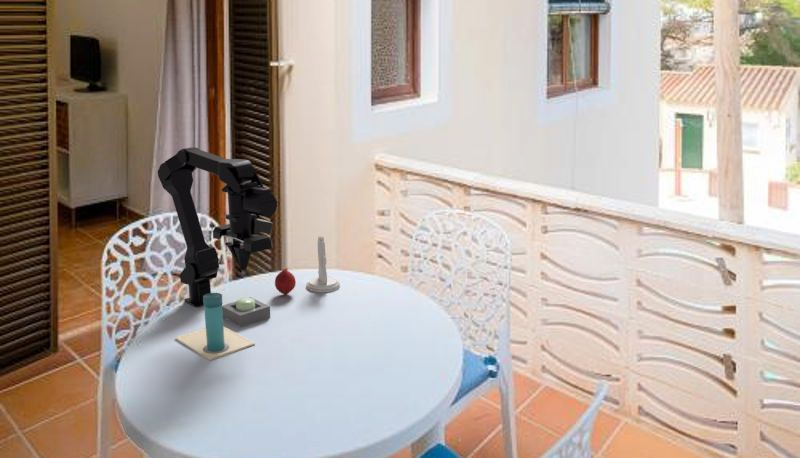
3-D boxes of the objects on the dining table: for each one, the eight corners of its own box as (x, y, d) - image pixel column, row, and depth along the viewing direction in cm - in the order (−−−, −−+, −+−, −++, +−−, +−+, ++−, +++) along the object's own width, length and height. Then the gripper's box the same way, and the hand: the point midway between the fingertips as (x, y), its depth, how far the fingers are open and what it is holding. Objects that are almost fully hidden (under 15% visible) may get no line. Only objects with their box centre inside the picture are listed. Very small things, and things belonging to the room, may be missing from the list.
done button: (232, 313, 184) (232, 301, 183) (248, 308, 187) (248, 296, 186) (243, 318, 181) (242, 306, 180) (258, 313, 184) (258, 301, 183)
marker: (208, 344, 167) (205, 292, 164) (226, 343, 167) (223, 292, 164) (205, 352, 163) (201, 299, 160) (223, 351, 163) (220, 299, 160)
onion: (291, 299, 197) (290, 272, 195) (272, 297, 198) (271, 270, 196) (298, 291, 202) (297, 265, 200) (279, 290, 203) (278, 264, 201)
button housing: (221, 316, 184) (221, 305, 184) (251, 307, 190) (250, 297, 190) (240, 326, 178) (240, 315, 177) (270, 317, 184) (270, 306, 184)
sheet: (175, 339, 171) (175, 337, 171) (219, 325, 179) (219, 323, 179) (209, 360, 160) (209, 358, 160) (254, 344, 168) (254, 343, 168)
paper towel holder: (309, 293, 201) (308, 243, 197) (303, 282, 210) (302, 234, 206) (343, 290, 204) (342, 240, 200) (336, 279, 213) (335, 231, 209)
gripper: (288, 212, 176) (291, 271, 180) (247, 199, 188) (250, 255, 193) (250, 219, 168) (253, 281, 172) (210, 206, 181) (213, 264, 185)
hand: (243, 269), depth 181 cm, fingers closed
